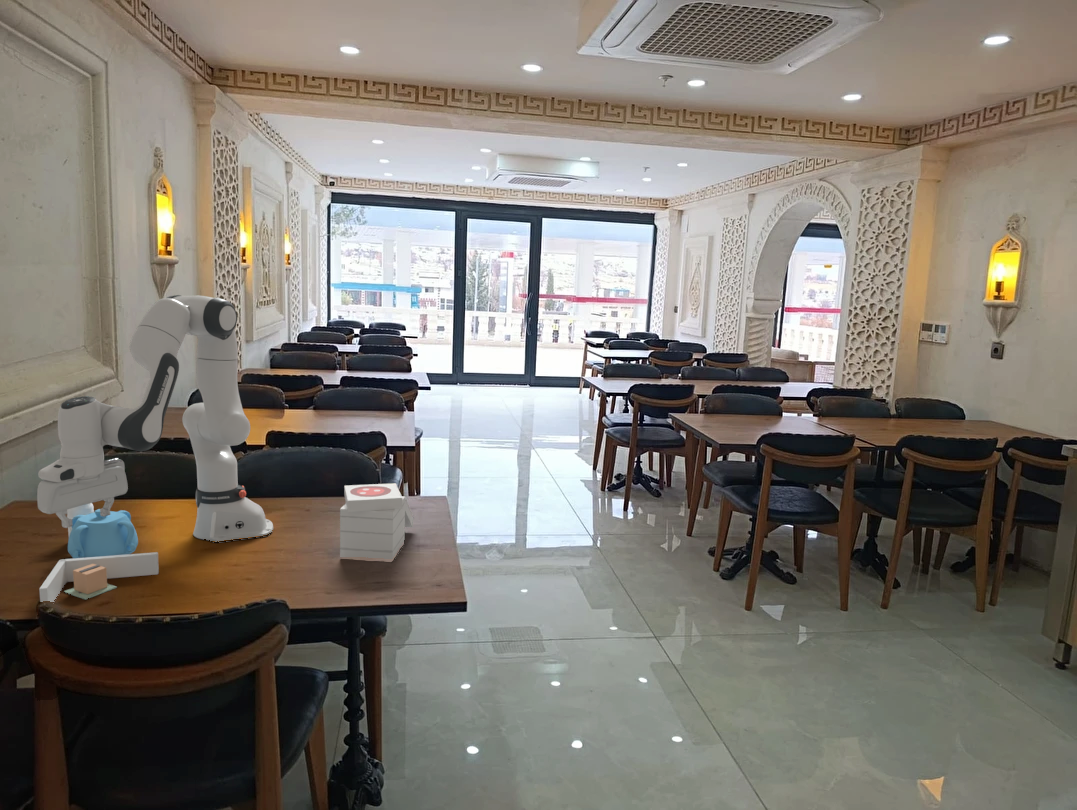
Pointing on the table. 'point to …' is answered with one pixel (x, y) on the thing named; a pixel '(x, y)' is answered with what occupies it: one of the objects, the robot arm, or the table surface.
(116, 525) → the decorative pot
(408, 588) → the table surface
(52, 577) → the white l-shaped bracket
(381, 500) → the pizza boxes
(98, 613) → the table surface
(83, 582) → the cube
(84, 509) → the can
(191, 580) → the table surface
